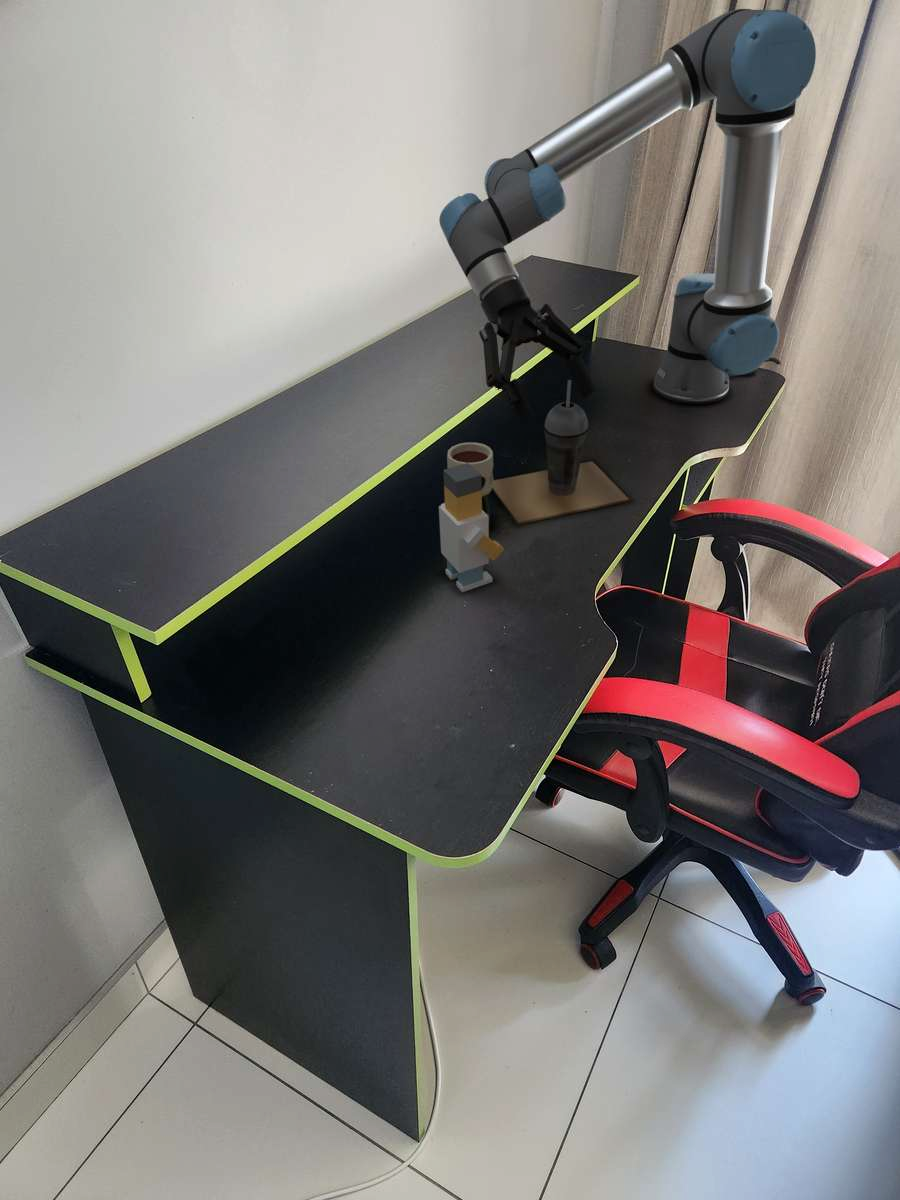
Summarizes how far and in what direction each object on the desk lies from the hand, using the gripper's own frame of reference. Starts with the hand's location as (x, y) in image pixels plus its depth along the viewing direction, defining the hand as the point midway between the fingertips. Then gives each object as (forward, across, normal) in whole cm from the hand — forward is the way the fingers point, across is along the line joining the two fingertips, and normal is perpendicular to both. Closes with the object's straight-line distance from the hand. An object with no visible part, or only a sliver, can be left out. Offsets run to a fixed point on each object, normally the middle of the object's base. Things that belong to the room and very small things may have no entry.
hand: (560, 407), depth 126 cm
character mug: (+10, +18, -11) cm, 24 cm away
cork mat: (+12, +1, -10) cm, 15 cm away
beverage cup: (+12, 0, -9) cm, 15 cm away
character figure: (+18, +28, -3) cm, 34 cm away
